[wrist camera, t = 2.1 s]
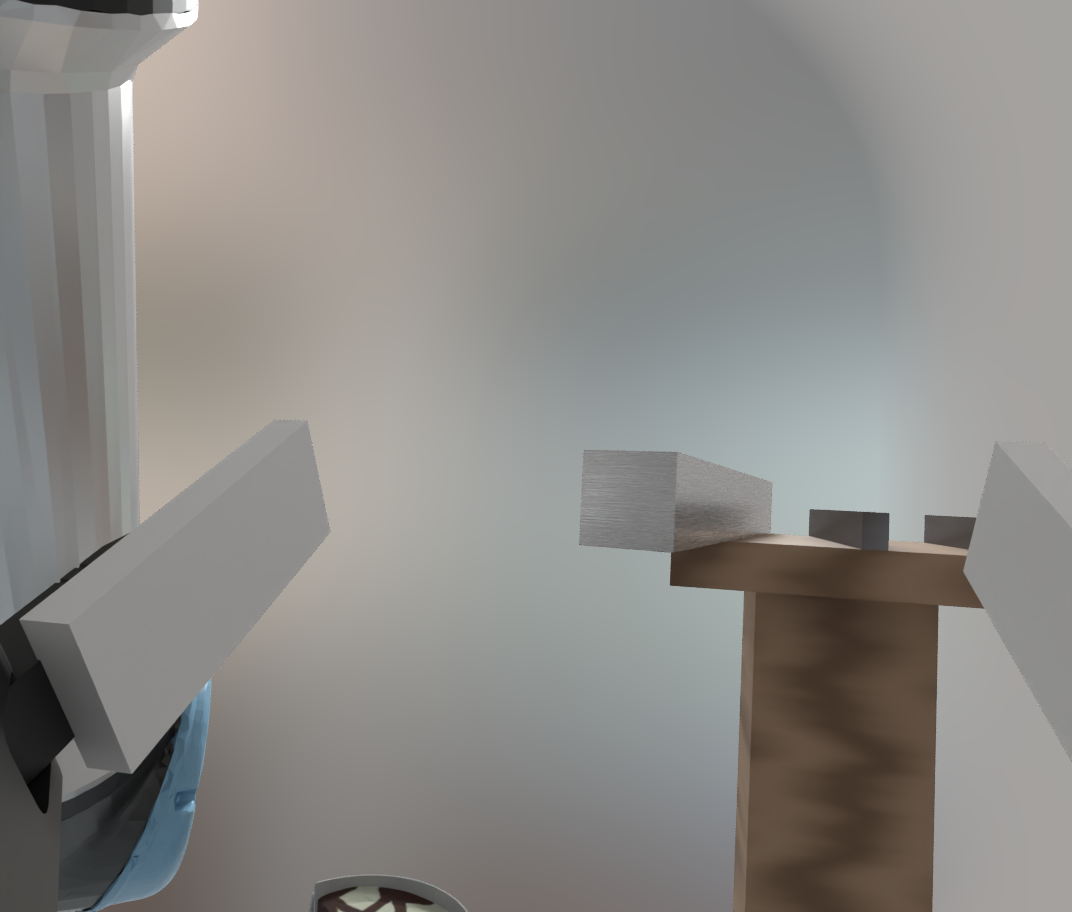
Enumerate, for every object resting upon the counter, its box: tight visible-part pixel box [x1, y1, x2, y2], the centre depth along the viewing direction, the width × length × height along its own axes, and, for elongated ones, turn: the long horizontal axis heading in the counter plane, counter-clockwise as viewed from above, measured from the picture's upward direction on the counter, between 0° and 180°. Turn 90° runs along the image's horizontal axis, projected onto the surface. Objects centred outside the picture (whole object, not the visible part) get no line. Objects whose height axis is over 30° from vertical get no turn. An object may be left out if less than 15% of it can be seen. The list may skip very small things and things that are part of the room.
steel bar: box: [579, 450, 772, 553], centre depth 33 cm, size 3×24×3 cm, turn 156°
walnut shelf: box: [670, 509, 984, 912], centre depth 34 cm, size 16×12×32 cm
